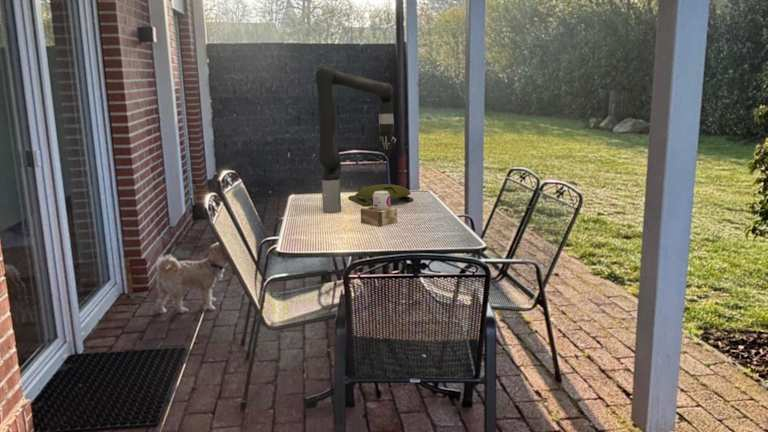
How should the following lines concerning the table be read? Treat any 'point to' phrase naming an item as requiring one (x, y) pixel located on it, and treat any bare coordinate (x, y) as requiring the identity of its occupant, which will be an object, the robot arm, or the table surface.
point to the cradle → (378, 216)
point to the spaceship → (368, 191)
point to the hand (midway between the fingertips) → (387, 156)
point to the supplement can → (381, 200)
